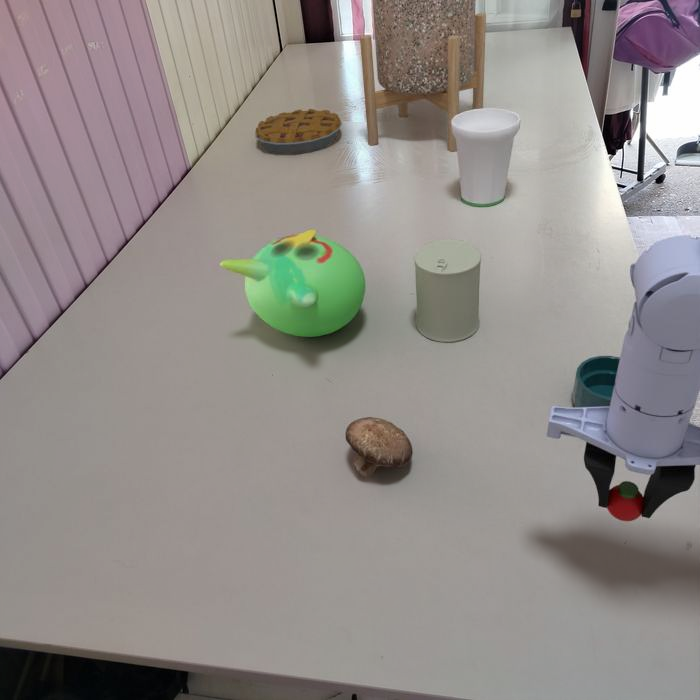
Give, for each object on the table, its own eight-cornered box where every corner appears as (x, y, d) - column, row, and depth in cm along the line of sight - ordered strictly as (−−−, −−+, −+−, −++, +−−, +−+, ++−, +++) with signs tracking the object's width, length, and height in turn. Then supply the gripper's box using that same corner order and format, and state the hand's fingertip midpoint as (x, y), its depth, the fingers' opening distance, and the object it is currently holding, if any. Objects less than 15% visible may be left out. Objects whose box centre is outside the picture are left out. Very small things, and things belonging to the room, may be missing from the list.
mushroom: (342, 480, 68) (361, 427, 67) (329, 451, 76) (346, 403, 75) (408, 496, 70) (428, 444, 69) (389, 466, 78) (406, 419, 77)
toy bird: (387, 310, 98) (381, 224, 89) (327, 374, 87) (312, 284, 78) (294, 284, 106) (279, 203, 97) (228, 340, 96) (205, 256, 87)
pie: (341, 152, 150) (339, 131, 147) (251, 160, 152) (246, 140, 149) (344, 121, 167) (342, 101, 164) (263, 128, 169) (259, 109, 166)
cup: (485, 178, 132) (488, 103, 122) (529, 197, 123) (535, 118, 113) (437, 197, 127) (437, 120, 117) (479, 218, 118) (482, 137, 109)
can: (407, 336, 92) (404, 265, 85) (426, 301, 99) (425, 232, 91) (470, 347, 89) (472, 274, 82) (485, 310, 95) (489, 239, 88)
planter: (457, 152, 144) (457, -9, 124) (366, 146, 153) (353, -5, 133) (484, 118, 159) (488, -30, 139) (400, 114, 168) (392, -25, 148)
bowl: (643, 390, 79) (650, 362, 76) (639, 434, 74) (646, 406, 71) (576, 377, 82) (581, 350, 79) (567, 419, 76) (571, 392, 74)
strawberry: (642, 504, 58) (649, 478, 56) (640, 532, 56) (647, 507, 53) (604, 495, 59) (610, 470, 57) (601, 523, 57) (607, 497, 55)
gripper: (547, 406, 48) (533, 517, 56) (769, 449, 43) (717, 564, 51) (561, 350, 53) (546, 459, 61) (761, 382, 48) (714, 497, 56)
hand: (624, 503), depth 57 cm, fingers closed on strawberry, 3 cm apart
